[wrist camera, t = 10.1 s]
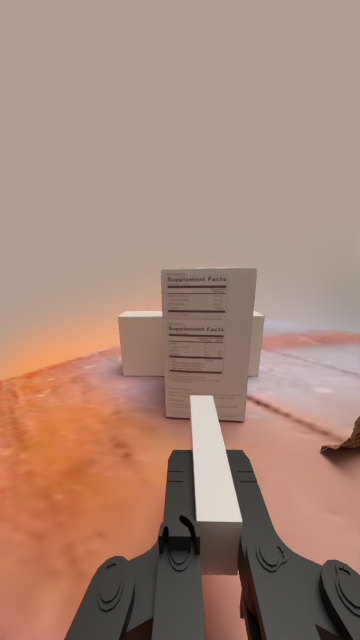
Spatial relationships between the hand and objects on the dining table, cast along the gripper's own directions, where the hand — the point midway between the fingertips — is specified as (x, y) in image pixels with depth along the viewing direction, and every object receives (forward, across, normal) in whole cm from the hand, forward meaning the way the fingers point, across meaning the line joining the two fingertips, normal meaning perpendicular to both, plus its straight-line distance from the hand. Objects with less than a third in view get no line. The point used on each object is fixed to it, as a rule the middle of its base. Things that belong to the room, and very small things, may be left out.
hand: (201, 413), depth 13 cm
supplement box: (+12, +1, -7) cm, 14 cm away
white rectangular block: (+19, 0, -7) cm, 20 cm away
